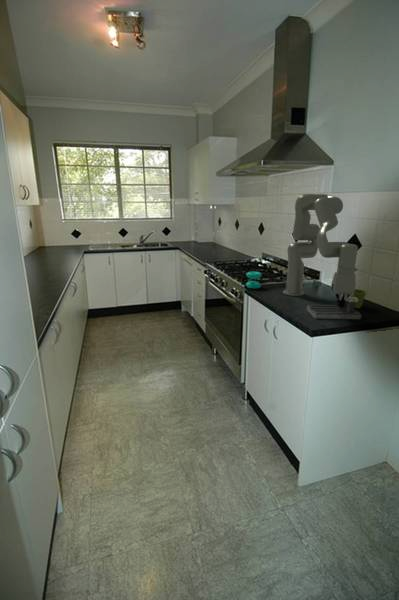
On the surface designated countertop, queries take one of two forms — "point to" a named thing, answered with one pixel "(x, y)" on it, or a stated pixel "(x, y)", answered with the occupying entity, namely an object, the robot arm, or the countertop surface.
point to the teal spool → (253, 283)
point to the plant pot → (359, 297)
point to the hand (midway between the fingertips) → (340, 307)
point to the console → (331, 312)
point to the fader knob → (351, 304)
